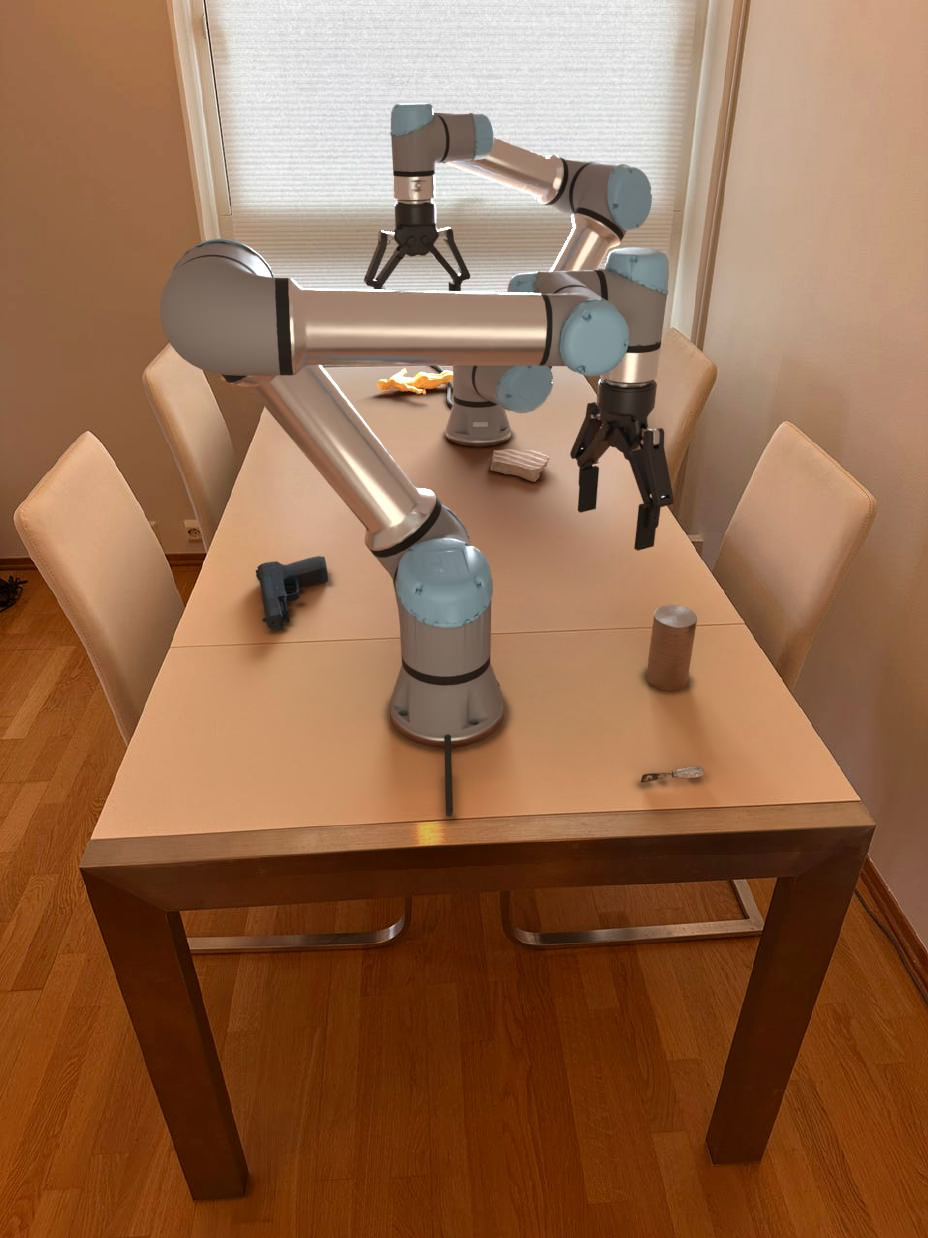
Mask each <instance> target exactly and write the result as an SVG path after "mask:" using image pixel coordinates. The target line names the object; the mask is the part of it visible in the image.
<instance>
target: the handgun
mask: <svg viewBox="0 0 928 1238" xmlns="http://www.w3.org/2000/svg"><path fill="white" fill-rule="evenodd" d="M255 576H256V579H257V581H259V586H260V591H261V592H260V593H261V598H262V599H261V600H262V605H263V610H264V615H265V617H264V618H262V619H261V622H262V623H266V627H267V628H268V629H270V630H271V631H277V630H283V628H284V626H285V623H284V622H285V621H286V623H287V624H289V623H290V613H289V607H288V603H291V602H295V601H298V600H300V590H302V589H306V588H309V587H314V586H317V585H320V584H323V583H328V582H329V575H328V567H327V562H326V557H325V556H321V555H319V556H318V555H317V556H314V557H313V556H312V557H307V558H304V559H300V560H297V561H294V562H291V563H288V564H283V563H280V562H279V561H267V562H263V563H261V564H259V565H257V569H256V570H255ZM290 592H293V593H290Z"/></svg>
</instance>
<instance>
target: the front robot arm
mask: <svg viewBox="0 0 928 1238" xmlns="http://www.w3.org/2000/svg"><path fill="white" fill-rule="evenodd" d="M669 268H670V262H669V257H668V256H667V255H666V253H664V252H663V251H661V250H658V249H655V248H648V247H635V246H634V247H623V248H615V249H613V250H611V251H609V253H608V254H607V257H606V262H605V263H604V268H603V267H602V268H598V269H597V270H582V271H551V270H549V271H541V270H540V269H539V270H535V271H531V272H522V273H516V274H515V275H513V276H512V277H511V278H510V280H509V282H508V285H507V290H506V292H504V291H503V292H501V291H500V292H499V291H498V292H495V291H461V292H449V290H448V291H445V290H444V291H443V290H441V291H440V290H439V291H437V290H395V289H394V290H392V289H386V290H374V289H339V288H338V289H336V288H333V289H332V288H331V289H330V288H303V287H302V286H300V285H299V284H298V283H297V282H296V280H294V279H293V278H292V277H275V275H274V273H273V271H272V268H271V266H270V265H269V264H268V262H267V261H266V260H265V259H264V258H263V256H261V255H260V254H259V253H258V252H257V251H256V250H255V249H254V248H252V247H250V246H248V245H247V244H246V243H243V242H240V241H237V240H235V239H228V238H212V239H208V240H205V241H202V242H200V243H198V244H196V245H194V246H193V247H192V248H191V249H190V248H189V249H187V250H186V252H184V254H183V255H181V256H180V257H179V258H178V259H177V261H176V262H175V265H174V267H173V268H172V271H171V275H170V277H169V278H168V280H167V281H166V283H165V285H164V287H163V288H162V289H163V290H162V292H161V296H160V301H159V320H160V323H161V328H162V331H163V333H164V335H165V337H166V339H167V341H168V344H170V346H171V347H172V348H173V350H174V352H175V353H176V354H177V355H179V356H180V357H181V359H183V360H184V361H186V362H187V363H189V364H190V365H192V366H193V367H196V368H197V369H200V370H201V371H205V372H208V373H211V374H216V375H221V376H222V377H223V379H224V380H225V381H226V382H227V384H228V385H229V386H237V387H245V388H248V389H249V390H250V391H251V393H253V395H254V396H255V397H256V398H257V399H258V401H259V402H260V403H261V404H262V405H263V407H264V408H265V409H266V410H267V412H268V413H269V414H270V415H271V416H272V418H273V419H274V420H275V421H276V422H277V423H278V424H279V426H280V427H281V428H282V429H283V431H284V432H285V433H286V434H287V435H288V437H289V438H290V439H291V440H292V442H294V443H295V445H296V446H297V447H298V448H299V450H300V451H301V452H302V453H303V455H304V456H305V457H306V458H307V460H308V461H309V462H310V463H311V465H313V467H314V468H315V469H316V470H317V471H318V472H319V474H320V476H322V478H323V479H324V480H325V482H327V483H328V485H329V486H330V487H331V488H332V489H333V491H334V492H335V493H336V495H338V497H339V498H340V499H341V500H342V501H343V502H344V504H345V505H346V506H347V508H348V509H349V510H350V511H351V512H352V514H354V516H355V517H356V519H358V521H359V522H360V523H361V524H362V525H363V527H364V528H365V532H364V540H363V541H364V545H365V546H366V548H367V549H368V550H369V551H370V553H372V555H373V556H374V557H375V558H376V560H377V561H378V562H379V563H380V565H381V566H382V567H383V568H384V569H385V570H386V572H387V573H388V574H389V576H390V577H391V579H392V583H393V590H394V594H395V595H394V596H395V599H396V600H395V601H396V606H397V610H398V619H399V633H400V634H399V635H400V652H401V653H400V655H401V667H400V669H399V672H398V675H397V678H396V681H395V684H394V687H393V690H392V693H391V696H390V703H389V706H390V718H391V721H392V724H393V725H394V727H395V728H396V729H397V731H398V732H399V733H400V734H402V735H403V736H404V737H406V738H407V739H409V740H411V741H413V742H415V743H417V744H420V745H421V744H422V745H425V746H430V747H437V748H444V790H445V791H444V792H445V794H444V797H445V800H444V801H445V815H446V816H447V817H452V816H453V815H454V801H453V764H452V763H453V762H452V759H453V758H452V748H454V747H455V748H457V747H463V746H467V745H471V744H473V743H476V742H480V741H481V740H483V739H485V738H486V737H488V736H489V735H491V734H492V733H493V732H494V731H495V730H496V729H498V727H499V726H500V724H501V722H502V720H503V717H504V697H503V693H502V690H501V685H500V683H499V681H498V679H497V677H496V674H495V672H494V668H493V666H492V664H491V654H492V653H491V651H492V649H491V648H492V647H491V645H492V597H493V594H494V593H493V592H494V580H493V575H492V570H491V565H490V562H489V560H488V558H487V557H486V556H485V554H484V553H483V552H482V551H481V550H480V549H478V548H477V547H476V546H474V545H471V541H470V536H469V535H468V531H467V528H466V526H465V524H464V523H463V521H462V520H461V519H460V517H458V515H456V513H455V512H454V511H452V510H451V509H450V508H449V507H447V506H446V505H444V504H443V502H442V501H441V500H440V499H439V498H438V497H437V495H436V494H435V492H433V491H432V490H431V489H429V488H421V487H416V486H415V485H414V484H413V482H412V481H411V480H410V478H409V477H408V476H407V474H406V473H405V472H404V471H403V469H402V468H401V466H400V465H399V464H398V463H397V461H396V460H395V459H394V458H393V456H392V455H391V454H390V452H389V451H388V450H387V448H386V447H385V446H384V445H383V443H382V442H381V440H380V439H379V438H378V437H377V435H376V434H375V433H374V432H373V430H372V428H370V426H369V425H368V424H367V422H366V421H365V420H364V419H363V417H362V416H361V414H359V412H358V411H357V410H356V408H355V407H354V405H353V404H352V403H351V402H350V400H349V399H348V397H347V396H346V395H345V394H344V392H343V391H342V390H341V389H340V387H339V386H338V385H337V383H336V382H335V381H334V380H333V378H332V377H331V376H330V374H329V373H328V372H327V370H326V369H325V368H324V366H404V367H405V366H406V367H407V366H410V367H411V366H415V367H416V366H418V367H419V366H420V367H421V366H425V367H426V366H427V367H428V366H431V367H434V366H440V367H441V366H443V367H444V366H445V367H446V366H447V367H449V366H452V367H453V366H553V367H567V368H568V369H569V370H570V371H572V372H575V373H577V374H580V375H582V376H584V377H600V378H599V380H598V381H597V392H596V401H591V402H588V403H586V409H585V417H584V420H583V421H582V424H581V425H580V428H579V431H578V434H577V435H576V439H575V441H574V442H573V445H572V448H571V450H570V453H569V454H570V455H569V456H570V458H571V459H572V460H576V465H577V466H578V468H579V469H578V499H577V511H578V512H579V513H586V512H589V511H593V510H596V509H597V501H598V500H597V499H598V488H599V474H600V467H599V466H597V464H600V462H599V461H600V458H601V457H603V455H604V454H605V453H606V452H607V451H608V449H609V448H610V447H611V448H616V449H617V451H619V452H621V453H622V454H623V457H624V459H625V460H627V461H628V463H629V465H630V468H631V471H632V473H633V478H634V479H635V482H636V485H637V488H638V491H639V494H640V497H641V499H642V500H641V501H642V503H640V504H638V507H637V508H638V509H637V519H636V527H635V538H634V547H633V549H634V550H635V551H642V550H646V549H649V548H653V547H655V540H656V539H655V538H656V530H657V528H658V526H659V525H660V523H659V522H660V516H661V508H664V507H667V506H671V505H673V504H674V502H675V500H674V494H673V489H672V482H671V478H670V473H669V472H670V471H669V468H668V462H667V461H668V460H667V457H666V449H665V430H664V428H662V427H659V428H653V427H652V428H651V427H649V423H648V417H649V416H650V414H651V413H652V411H654V409H655V406H656V399H657V398H656V397H657V390H658V383H657V382H656V379H657V378H658V375H659V367H660V357H661V347H662V338H663V330H664V322H665V321H664V320H665V314H666V307H667V298H668V295H669V278H670V270H669ZM638 448H639V449H638Z"/></svg>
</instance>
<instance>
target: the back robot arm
mask: <svg viewBox="0 0 928 1238" xmlns="http://www.w3.org/2000/svg"><path fill="white" fill-rule="evenodd" d="M390 110H391V111H390V131H389V134H390V139H391V156H392V157H391V159H392V174H393V175H392V179H393V180H392V181H393V198H394V200H396V202H395V203H394V206H393V207H394V225H395V227H394V231H393V232H392V231H391V232H390V231H384V230H382V229H381V230H379V231H378V235H377V236H378V237H377V238H378V239H377V245H376V247H375V250H374V252H373V255H372V257H371V260H370V263H369V264H368V267H367V270H366V273H365V275H364V277H363V282H364V284H365V285H366V286H367V287H371V288H373V290H387V289H386V288H385V286H384V285H385V284H386V282H387V281H388V279H389V278H390V276H391V275H392V274H393V272H394V271H395V269H396V268H397V266H398V265H399V264H400V262H401V261H402V260H404V258H405V256H408V257H416V256H421V257H425V256H428V255H429V254H430V256H432V257H433V258H434V260H436V262H437V264H439V266H440V267H441V268H442V269H443V270H444V271H445V273H446V274H447V275H448V276H449V277H450V278H451V280H452V281H448V291H449V292H462V284H463V282H464V281H466V280H467V281H468V280H470V279H471V273H470V271H469V269H468V266H467V265H466V263H465V261H464V259H463V256H462V254H461V252H460V250H459V248H458V246H457V244H456V242H455V236H454V230H453V228H451V227H449V226H445V227H444V228H440V229H438V227H437V207H436V205H437V204H436V203H435V201H433V200H434V199H435V198H436V177H435V176H436V175H435V174H436V171H435V170H436V164H440V163H441V164H444V165H448V166H449V167H453V168H455V169H458V170H462V171H463V172H467V173H469V174H472V175H475V176H478V177H480V178H483V179H486V180H490V181H493V182H495V183H497V184H501V185H504V186H507V187H509V188H511V189H515V190H516V191H520V192H523V193H525V194H529V195H532V196H533V197H534V200H535V201H536V202H537V203H539V204H542V205H544V206H547V207H549V208H551V209H554V210H556V211H558V212H560V213H562V214H564V215H567V216H568V217H571V223H572V227H573V228H572V229H571V232H570V234H569V236H568V237H567V240H566V241H565V243H564V245H563V247H562V249H561V251H560V252H559V254H558V256H557V258H556V260H555V262H554V264H553V266H552V267H551V268H550V271H582V270H597V269H600V266H601V264H602V262H603V260H604V259H605V257H606V255H607V253H608V251H609V250H610V249H612V248H614V247H618V246H619V245H620V244H621V242H622V241H623V239H624V238H625V235H626V233H627V232H631V231H635V230H636V229H639V228H641V227H642V226H643V224H644V223H646V221H647V219H648V217H649V214H650V212H651V208H652V202H653V194H652V186H651V182H650V180H649V178H648V176H647V174H645V172H643V170H641V169H640V168H638V167H635V166H631V165H629V164H625V163H622V164H621V163H620V164H616V163H615V164H614V163H608V162H607V163H606V162H599V161H592V160H578V159H568V158H564V157H562V156H561V157H560V156H559V155H555V154H550V155H548V156H546V157H545V156H543V155H540V154H538V153H535V152H533V151H530V150H528V149H526V148H523V147H520V146H518V145H515V144H512V143H510V142H507V141H504V140H502V139H500V138H497V137H495V131H494V126H493V123H492V121H491V119H490V118H489V117H488V115H486V114H484V113H474V112H469V113H449V112H435V110H434V107H433V105H432V104H431V103H429V102H403V103H402V102H401V103H396V104H394V105H393V106H392V108H391V109H390ZM439 237H440V238H441V240H442V241H443V242H445V244H446V246H447V248H448V250H449V252H450V255H451V257H452V259H453V261H454V263H455V265H456V267H457V269H458V271H459V273H457V272H456V270H455V269H454V268H453V267H452V266H451V264H450V263H449V262H448V261H447V260H446V258H445V257H444V255H442V253H441V252H440V251H439V250H438V248H436V247H437V246H435V244H436V242H437V240H438V239H439ZM392 240H394V242H395V243H396V245H397V246H396V248H395V249H394V250H393V253H392V255H391V256H390V257H389V259H388V260H387V262H386V263H385V264H384V266H383V267H382V269H381V271H380V272H379V273H378V270H379V269H380V265H381V263H382V261H383V258H384V255H385V252H386V250H387V246H388V245H390V244H391V242H392ZM377 273H378V275H377ZM433 367H434V368H435V369H437V370H438V371H439V372H440V373H442V372H444V371H446V370H444V369H445V368H443V367H441V366H433ZM553 367H554V366H452V372H453V381H450V382H447V383H446V384H447V387H446V388H447V389H446V402H447V404H448V405H449V406H450V407H451V409H450V413H449V416H448V420H447V423H446V426H445V437H446V438H447V439H448V440H449V441H450V442H452V443H454V444H458V445H461V446H466V447H490V446H491V447H492V446H495V445H500V444H503V443H505V442H507V441H508V440H509V439H510V438H511V435H512V434H511V433H512V428H511V423H510V420H509V416H508V413H507V411H509V412H513V413H515V414H528V413H530V412H534V411H536V410H538V409H540V407H541V406H542V405H544V404H545V402H546V401H547V400H548V398H549V396H550V395H551V393H552V390H553V386H554V382H553V379H554V375H553V372H552V369H553ZM452 394H453V395H452ZM451 397H453V398H452V399H453V401H452V400H451Z"/></svg>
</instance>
